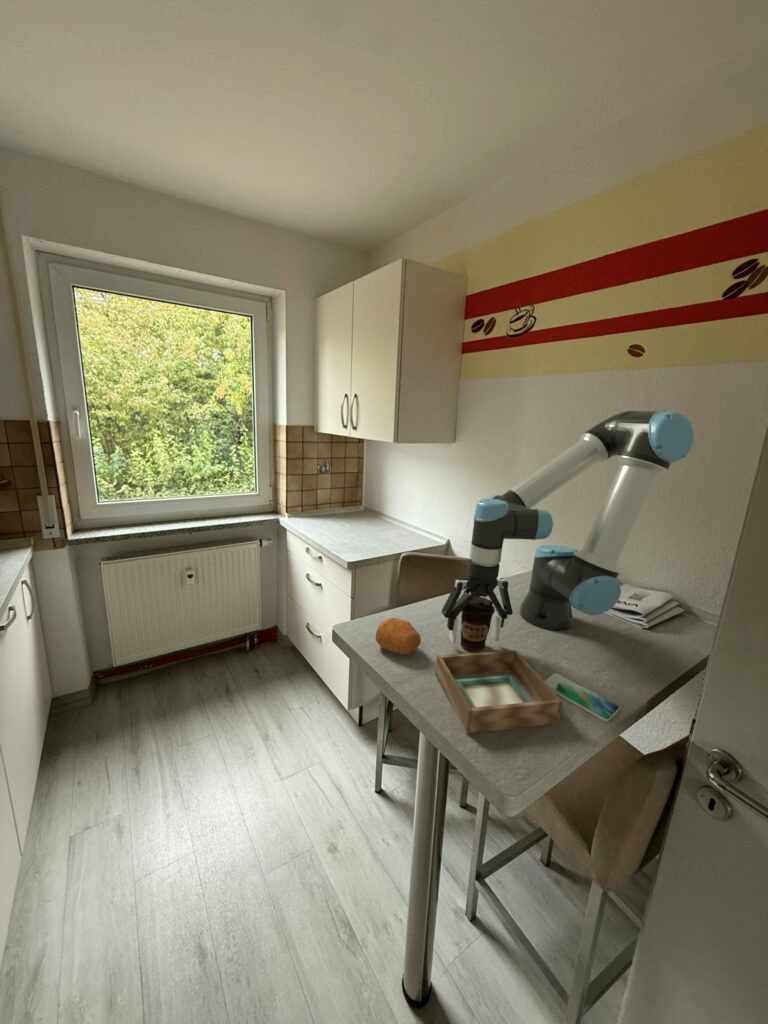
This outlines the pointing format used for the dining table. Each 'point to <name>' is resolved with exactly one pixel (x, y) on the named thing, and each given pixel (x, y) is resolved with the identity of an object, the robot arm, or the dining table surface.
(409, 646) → the potato
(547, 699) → the crate
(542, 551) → the robot arm
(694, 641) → the dining table surface
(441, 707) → the dining table surface
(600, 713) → the smartphone
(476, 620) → the coffee cup
